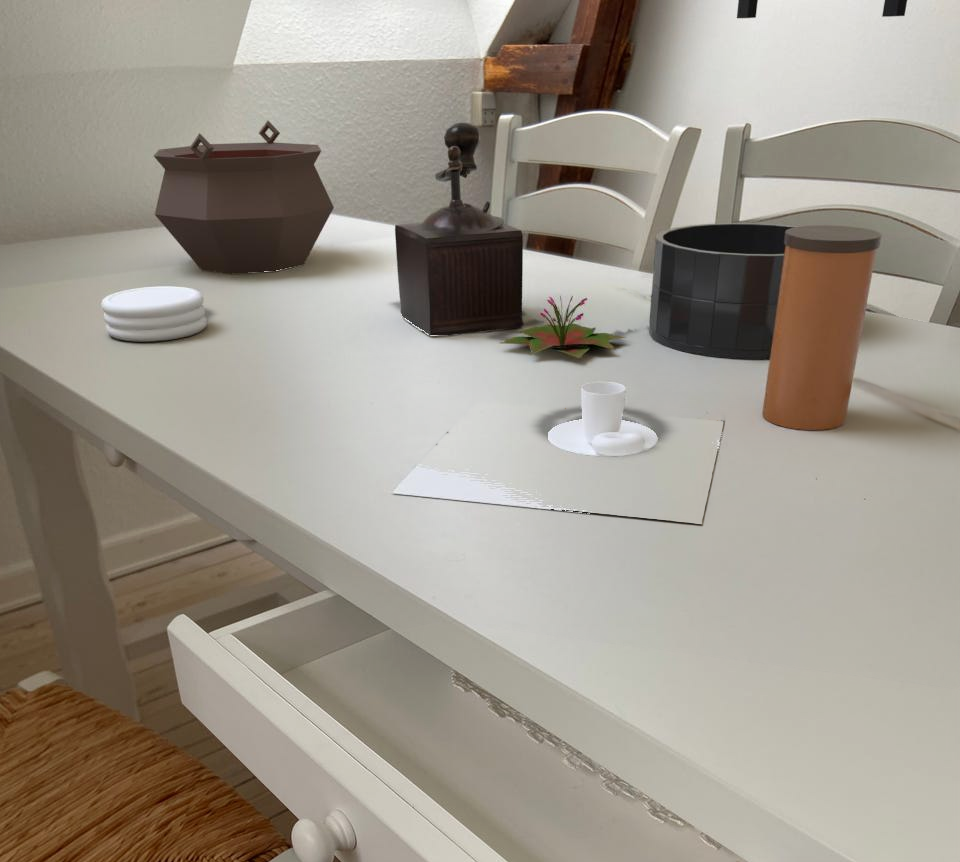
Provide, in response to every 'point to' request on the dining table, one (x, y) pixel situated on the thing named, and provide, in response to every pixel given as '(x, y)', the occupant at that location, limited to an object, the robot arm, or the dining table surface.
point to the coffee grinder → (460, 258)
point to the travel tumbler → (818, 325)
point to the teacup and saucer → (585, 436)
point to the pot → (717, 288)
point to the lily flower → (562, 334)
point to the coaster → (154, 313)
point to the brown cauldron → (243, 203)
